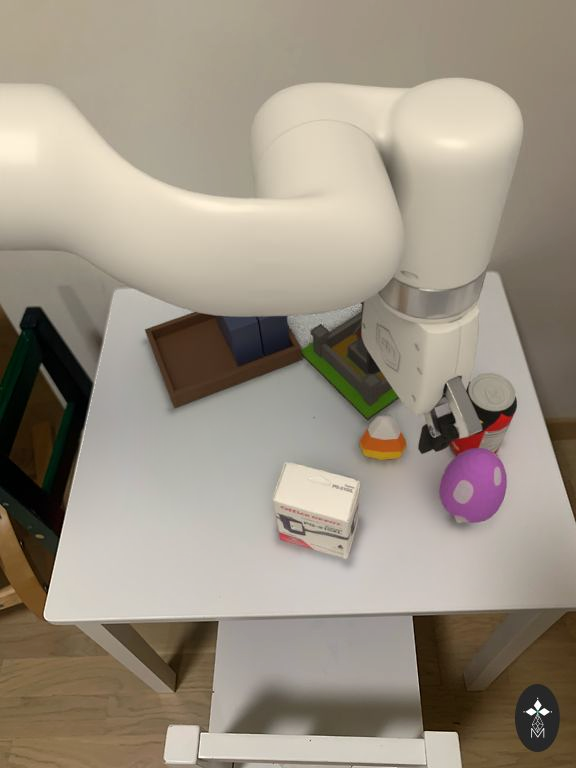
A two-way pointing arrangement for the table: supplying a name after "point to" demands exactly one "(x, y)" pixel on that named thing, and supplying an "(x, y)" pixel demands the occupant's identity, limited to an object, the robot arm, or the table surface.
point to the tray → (206, 358)
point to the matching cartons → (254, 336)
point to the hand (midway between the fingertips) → (407, 404)
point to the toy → (473, 485)
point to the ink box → (317, 509)
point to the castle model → (349, 366)
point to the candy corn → (383, 439)
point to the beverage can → (489, 412)
